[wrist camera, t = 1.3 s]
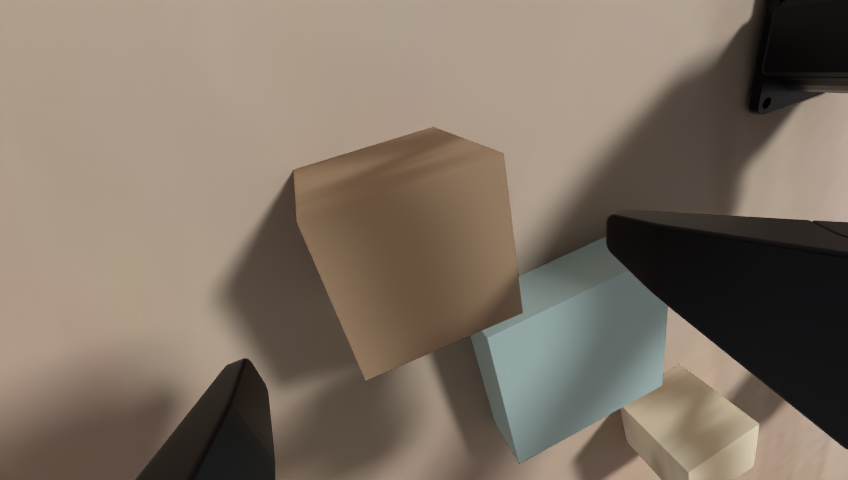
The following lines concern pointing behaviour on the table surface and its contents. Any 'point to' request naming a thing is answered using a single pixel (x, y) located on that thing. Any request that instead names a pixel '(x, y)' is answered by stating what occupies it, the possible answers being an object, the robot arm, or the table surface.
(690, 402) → the beech cube
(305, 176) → the walnut cube
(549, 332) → the base block
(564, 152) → the table surface
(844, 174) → the table surface
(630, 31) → the table surface
